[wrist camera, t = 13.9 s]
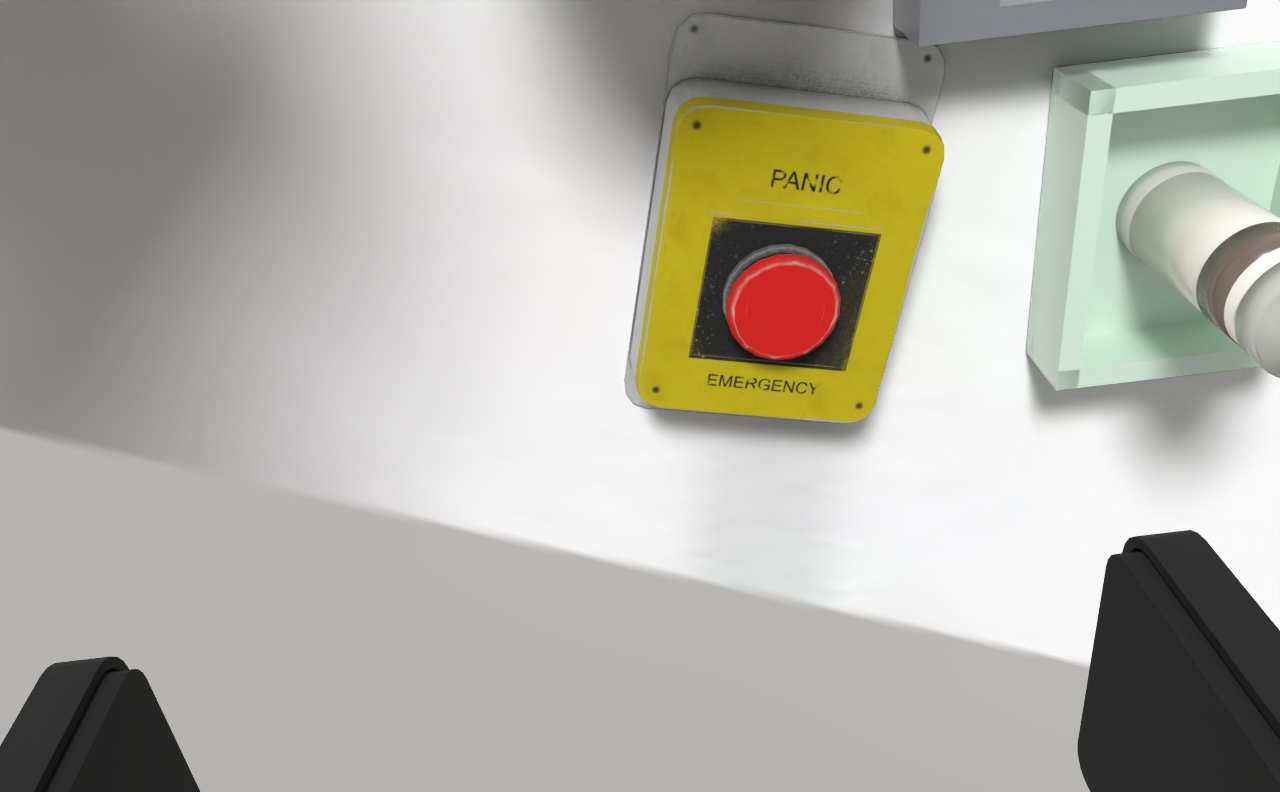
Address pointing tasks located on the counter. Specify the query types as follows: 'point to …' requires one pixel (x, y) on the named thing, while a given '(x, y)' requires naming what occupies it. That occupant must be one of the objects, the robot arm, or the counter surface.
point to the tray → (1097, 181)
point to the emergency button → (782, 218)
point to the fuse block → (1031, 16)
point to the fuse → (1210, 251)
